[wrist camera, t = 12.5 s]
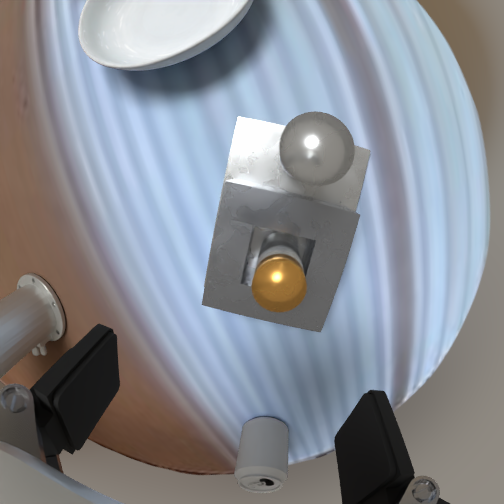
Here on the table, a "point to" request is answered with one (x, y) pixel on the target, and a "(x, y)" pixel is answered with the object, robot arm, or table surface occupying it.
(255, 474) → the can
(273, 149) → the grey block stand
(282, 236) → the gold and grey cylinder
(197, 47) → the serving bowl
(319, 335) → the table surface
